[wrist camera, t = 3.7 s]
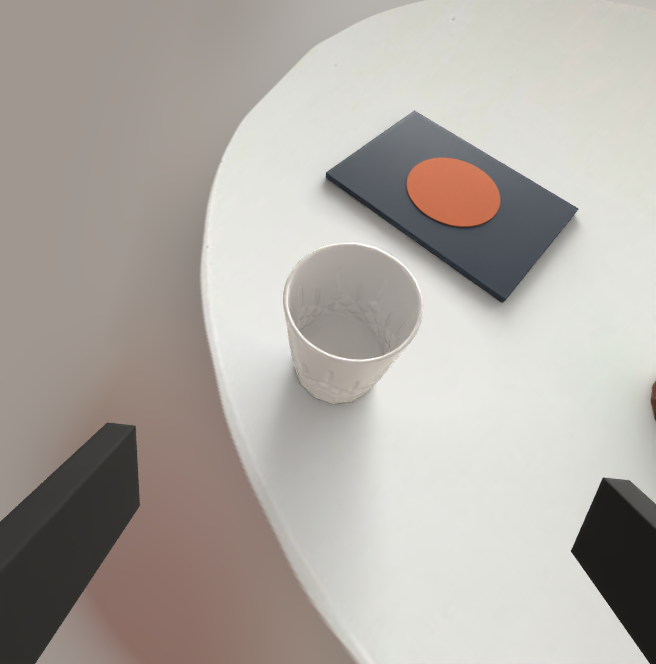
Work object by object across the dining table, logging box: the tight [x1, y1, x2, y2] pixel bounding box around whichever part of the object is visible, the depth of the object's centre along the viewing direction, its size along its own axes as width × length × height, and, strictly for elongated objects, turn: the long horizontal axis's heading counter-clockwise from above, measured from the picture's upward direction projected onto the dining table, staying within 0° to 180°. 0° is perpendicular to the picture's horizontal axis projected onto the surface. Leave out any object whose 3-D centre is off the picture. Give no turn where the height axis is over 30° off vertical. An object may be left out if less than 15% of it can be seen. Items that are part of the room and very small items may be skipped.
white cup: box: [283, 243, 423, 404], centre depth 25 cm, size 8×8×10 cm
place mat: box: [326, 111, 578, 302], centre depth 38 cm, size 22×16×1 cm
